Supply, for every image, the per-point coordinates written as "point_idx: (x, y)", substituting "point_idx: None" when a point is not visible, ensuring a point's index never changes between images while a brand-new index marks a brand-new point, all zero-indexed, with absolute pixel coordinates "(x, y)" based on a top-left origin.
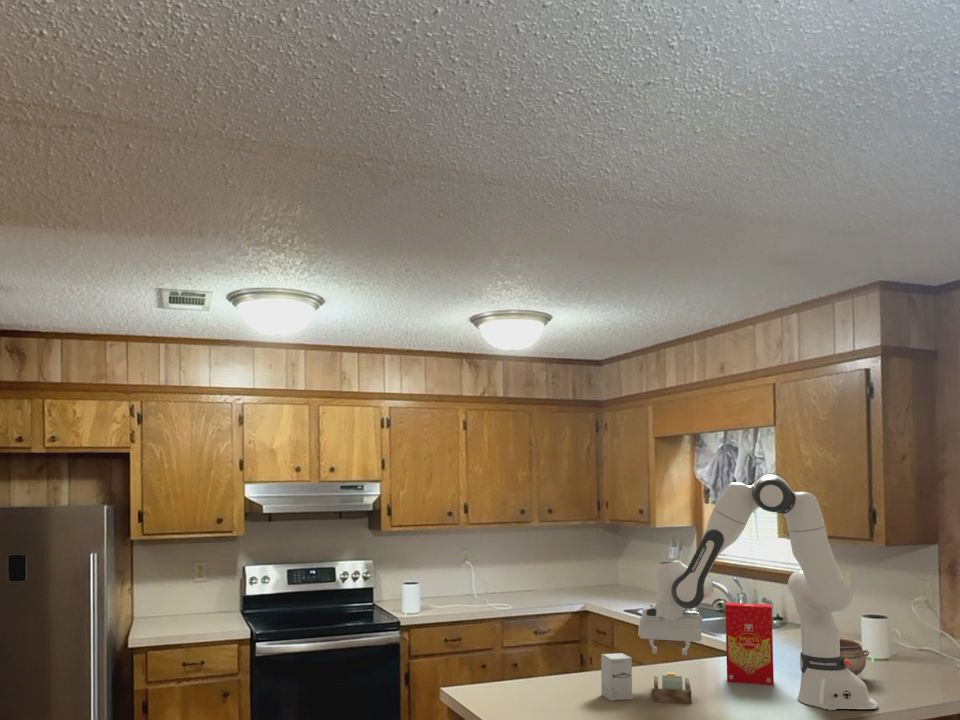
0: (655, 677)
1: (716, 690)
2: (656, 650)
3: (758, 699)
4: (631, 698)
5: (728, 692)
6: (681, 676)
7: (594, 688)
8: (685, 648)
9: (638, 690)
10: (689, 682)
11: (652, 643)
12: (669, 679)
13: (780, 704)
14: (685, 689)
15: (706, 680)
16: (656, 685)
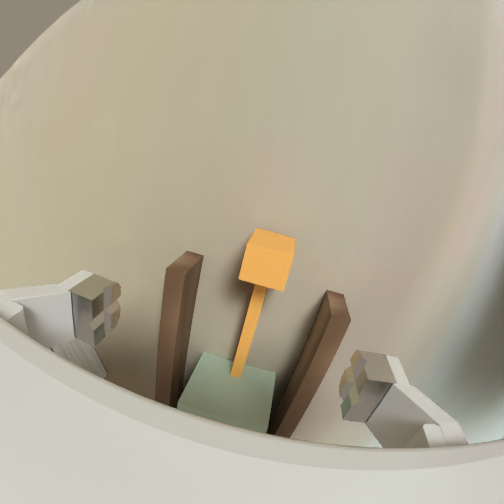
0: (171, 290)
1: (445, 311)
2: (101, 332)
3: (485, 396)
4: (105, 376)
5: (466, 336)
6: (265, 430)
7: (19, 246)
8: (373, 431)
9: (123, 285)
10: (318, 386)
11: (35, 330)
12: None
13: (492, 422)
14: (315, 326)
15: (474, 146)
16: (163, 398)
